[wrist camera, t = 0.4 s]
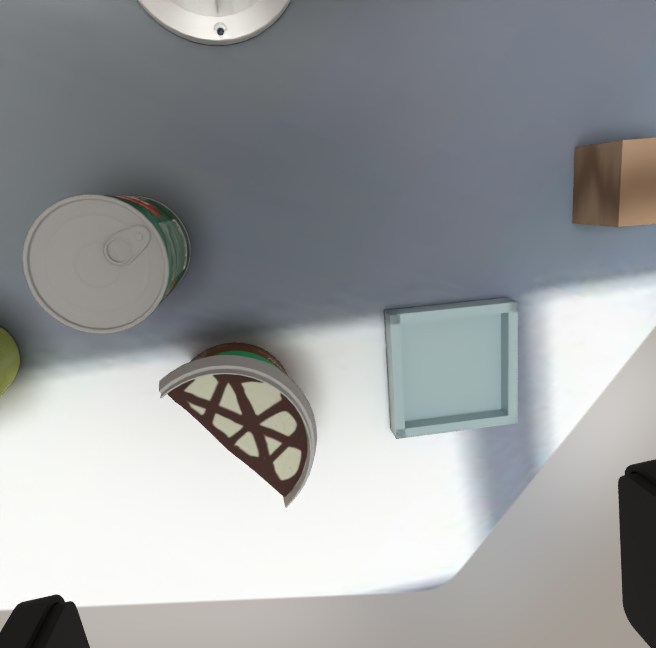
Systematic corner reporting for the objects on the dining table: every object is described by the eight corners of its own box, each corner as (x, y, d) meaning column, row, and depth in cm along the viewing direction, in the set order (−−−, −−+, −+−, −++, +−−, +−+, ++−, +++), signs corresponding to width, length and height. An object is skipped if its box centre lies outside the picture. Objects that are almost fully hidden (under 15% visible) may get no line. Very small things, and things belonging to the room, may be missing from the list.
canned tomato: (129, 319, 42) (86, 360, 31) (60, 235, 40) (-11, 249, 29) (212, 261, 42) (197, 282, 31) (147, 173, 40) (106, 164, 29)
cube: (574, 147, 43) (622, 140, 38) (643, 142, 44) (701, 134, 38) (571, 223, 45) (618, 226, 39) (638, 217, 46) (694, 220, 40)
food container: (337, 398, 46) (358, 452, 36) (284, 446, 46) (291, 512, 36) (232, 295, 43) (224, 324, 33) (177, 348, 43) (153, 392, 33)
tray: (384, 310, 44) (389, 315, 42) (507, 297, 46) (518, 301, 44) (390, 428, 47) (396, 438, 45) (506, 414, 48) (517, 423, 46)
